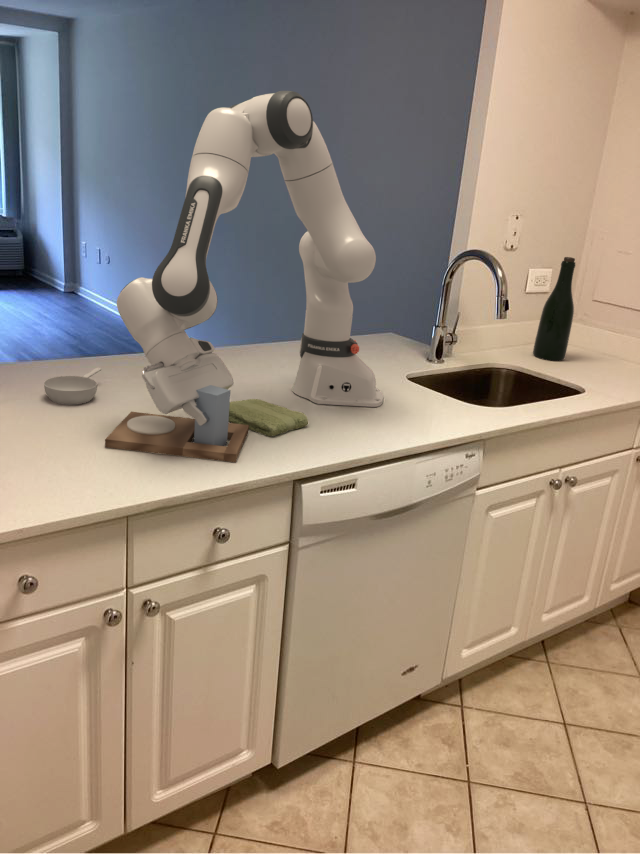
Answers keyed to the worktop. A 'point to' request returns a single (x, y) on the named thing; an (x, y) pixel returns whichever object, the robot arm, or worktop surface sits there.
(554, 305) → the green wine bottle
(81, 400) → the saucepan
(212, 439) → the slate block
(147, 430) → the felt coaster
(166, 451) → the walnut board
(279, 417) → the washcloth
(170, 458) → the worktop surface
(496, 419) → the worktop surface
